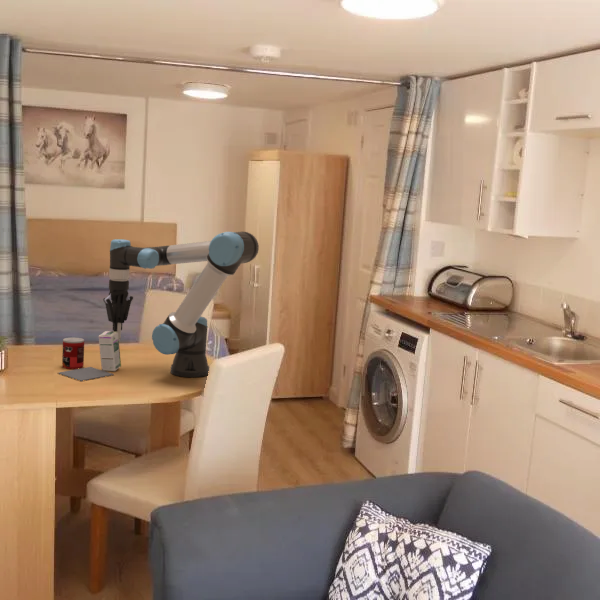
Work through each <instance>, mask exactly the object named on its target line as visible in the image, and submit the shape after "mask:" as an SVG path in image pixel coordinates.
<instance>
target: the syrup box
mask: <svg viewBox="0 0 600 600" xmlns="http://www.w3.org/2000/svg"><path fill="white" fill-rule="evenodd" d="M98 345H99V354H100V355H99V356H100V364H101V370H102V371H106V372H116V371H117V370H118V369H120V368H121V367H122V362H121V361H122V360H121V351H120V349H121V348H120V340H119V338H118V332H116V331H113V330H109V331H108V330H105V331H104V332H102V333H101V334H99V335H98Z"/></svg>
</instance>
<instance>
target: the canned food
mask: <svg viewBox="0 0 600 600" xmlns="http://www.w3.org/2000/svg"><path fill="white" fill-rule="evenodd" d="M61 357H62V360H61V361H62V368H63V369H67V370H75V369H78V368H80V369H81V368H84V364H85V362H84V361H85V360H84V358H85V339H84V338H81V337H65V338H63V339H62V356H61Z"/></svg>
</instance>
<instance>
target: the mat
mask: <svg viewBox="0 0 600 600" xmlns="http://www.w3.org/2000/svg"><path fill="white" fill-rule="evenodd" d="M58 373H59V374H58V375H60V374H62V375H61V376H63V375H65V376H64V377H66V376H68V377H67V378H69V377H71V378H70V379H72V378H74V379H73V380H75V379H77V380H76V381H78V380H80V381H79V382H84V381H83V380H86V381H90V380H89V379H92V380H96V379H95V378H97V379H101V378H100V377H102V378H106V377H105V376H107V377H111V375H112V376H114V375H115V374H114V373H111V372H110V371H103V370H102V369H99V368H95V367H93V366H86V367H82V368H80V369H69V370H66V371H65V370H64V371H59V372H58Z"/></svg>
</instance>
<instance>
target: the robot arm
mask: <svg viewBox="0 0 600 600" xmlns="http://www.w3.org/2000/svg"><path fill="white" fill-rule="evenodd" d="M259 245H260V244H259V242H258V239H257V237H256V236H255V235H254V234H252V233H251V232H248V231H224V232H220V233H218V234H216V235H215V236H214V237H213V238H212V239H211V240H208V241H207V240H206V241H205V240H204V241H197V242H189V243H188V242H187V243H179V244H178V243H177V244H171V245H160V246H147V247H145V246H144V247H138V246H133V245H131V241H130V240H128V239H123V238H122V239H118V238H115V239H112V240H111V241H110V248H109V275H108V276H109V279H108V280H109V281H108V289H109V292H108V295H107V297H104V298H103V299H102V300H103V302H104V304H105V309H106V315H107V320H108V322H111V323H112V331H116V332H118V338H119V341H120V340H121V339H122V336H121V335H122V330H123V324H124V323H125V321H127V319H128V318H129V317H128V316H129V312H130V308H131V307H130V306H131V303H132V302H133V300H134V296H131V295H130V294H129V288H130V281H129V279H130V271H131V270H130V267H136V268H140V269H141V268H142V269H144V270H146V269H155V268H156V267H159V266H160V267H161V266H169V265H177V264H189V263H200V262H207V263H206V264H205V266H204V268H203V269H202V271H201V272H200V274H199V276H198V277H197V279H196V280H195V282H194V283H193V285H192V286H191V288H190V289H189V291H188V292H187V294H186V295H185V296H184V299H183V300H182V302H181V303H180V304H179V306H178V308H177V310H176V311H172V312H169V314H168V315H167V317H166V319H165V320H164V321H163V323H159V324H158V325H156V326H155V327H154V328H153V330H152V333H151V334H152V335H151V339H152V344H153V346H154V348H155V349H156V351H157V352H159V353H160V354H162V355H174V357H173V360H172V364H171V365H170V374H172V375H174V376H178V377H183V378H201V377H206V376H208V375H209V374H208V371H209V372H210V366H209V365H208V364H209V362H208V359H207V355H206V354H207V353H206V351H207V336H208V328H209V327H208V319H207V318H206V317H204V316H202V315H203V313H204V312H205V310H206V308H208V306H209V304H210V303H211V301H213V299H214V298H215V295H216V294H217V292H218V291H219V289H220V288H221V286H222V285H223V283H224V282H225V280H226V279H227V277H228V276H229V277H230V276H233V275H234V274H235V273H236V272H237V270H238V269H239V267H241V264H247V263H249V262H252V261H253V260H254V259H255V258H256V257H257V255H258V253H259V248H260V246H259ZM207 374H208V375H207Z"/></svg>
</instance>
